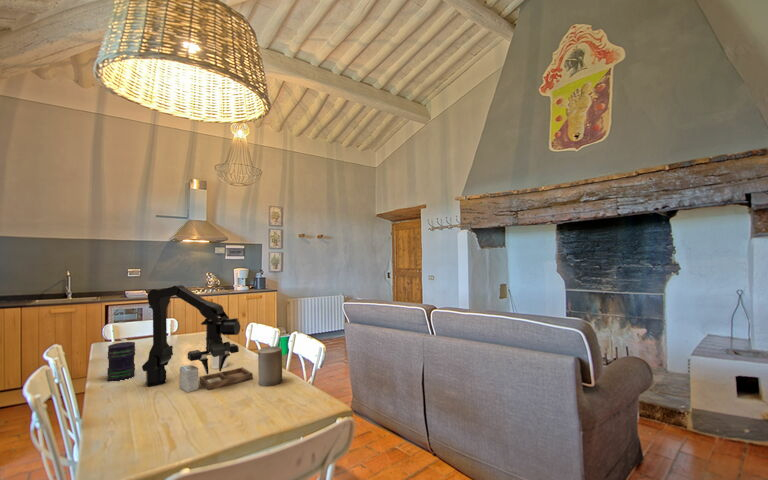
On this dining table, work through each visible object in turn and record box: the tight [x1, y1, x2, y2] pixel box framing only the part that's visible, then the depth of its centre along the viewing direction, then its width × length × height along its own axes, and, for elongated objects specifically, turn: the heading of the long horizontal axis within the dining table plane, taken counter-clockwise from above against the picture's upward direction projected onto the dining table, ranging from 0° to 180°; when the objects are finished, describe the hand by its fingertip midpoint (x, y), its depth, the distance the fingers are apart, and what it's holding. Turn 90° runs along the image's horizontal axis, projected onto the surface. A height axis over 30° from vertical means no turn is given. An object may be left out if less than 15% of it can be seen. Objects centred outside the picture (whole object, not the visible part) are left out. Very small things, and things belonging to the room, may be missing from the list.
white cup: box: [210, 355, 229, 370], centre depth 170 cm, size 8×8×10 cm
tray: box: [198, 367, 254, 391], centre depth 150 cm, size 18×12×2 cm, turn 132°
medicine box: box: [179, 364, 200, 393], centre depth 142 cm, size 8×4×9 cm, turn 49°
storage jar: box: [107, 341, 136, 382], centre depth 156 cm, size 10×10×15 cm
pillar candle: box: [257, 345, 283, 387], centre depth 148 cm, size 10×10×15 cm
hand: (213, 372), depth 147 cm, fingers open, 5 cm apart
